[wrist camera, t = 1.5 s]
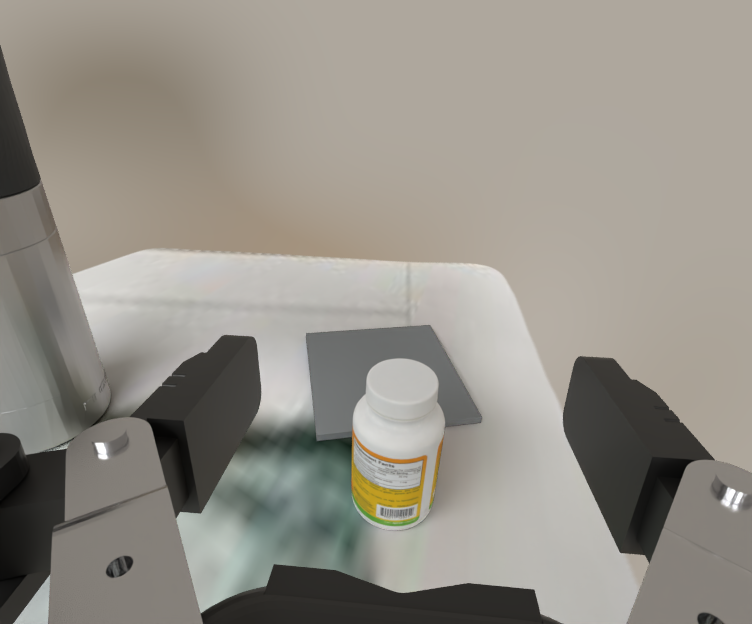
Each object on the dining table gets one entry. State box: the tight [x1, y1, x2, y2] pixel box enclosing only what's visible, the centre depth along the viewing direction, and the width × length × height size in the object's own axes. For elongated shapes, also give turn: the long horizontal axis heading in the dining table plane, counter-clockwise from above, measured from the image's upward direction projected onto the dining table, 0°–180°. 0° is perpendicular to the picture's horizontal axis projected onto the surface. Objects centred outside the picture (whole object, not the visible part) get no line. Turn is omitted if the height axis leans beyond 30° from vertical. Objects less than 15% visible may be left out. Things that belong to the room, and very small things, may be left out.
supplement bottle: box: [351, 358, 445, 530], centre depth 27 cm, size 5×5×10 cm
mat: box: [306, 325, 482, 441], centre depth 40 cm, size 13×14×1 cm
